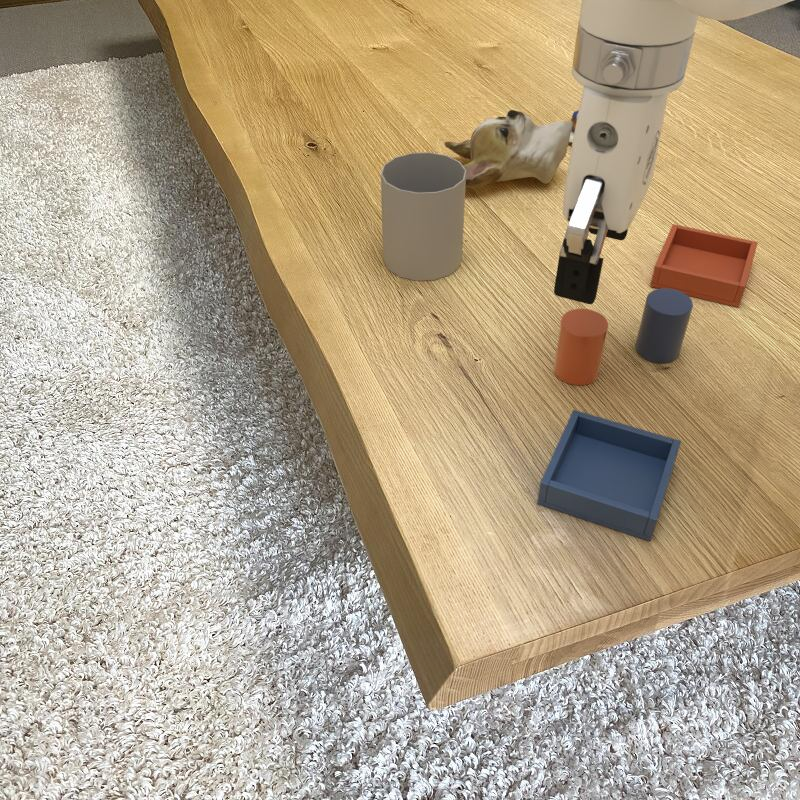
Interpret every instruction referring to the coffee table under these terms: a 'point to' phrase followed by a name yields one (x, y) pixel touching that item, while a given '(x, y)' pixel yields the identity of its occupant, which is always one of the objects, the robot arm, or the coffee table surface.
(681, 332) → the blue peg
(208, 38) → the coffee table surface
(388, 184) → the cup
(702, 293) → the terracotta tray
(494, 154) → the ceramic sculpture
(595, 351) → the terracotta peg
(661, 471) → the blue tray
